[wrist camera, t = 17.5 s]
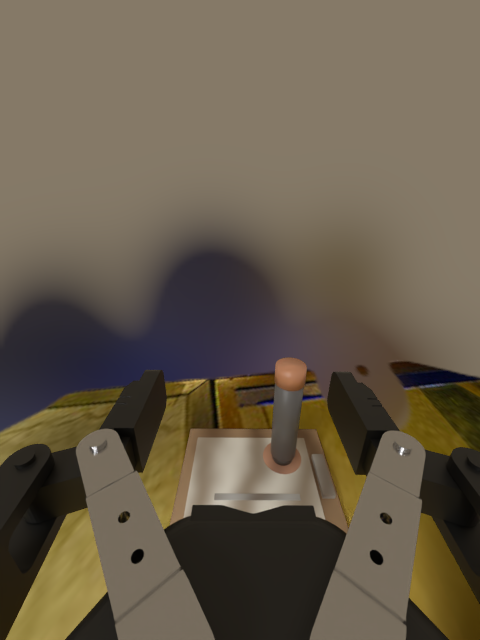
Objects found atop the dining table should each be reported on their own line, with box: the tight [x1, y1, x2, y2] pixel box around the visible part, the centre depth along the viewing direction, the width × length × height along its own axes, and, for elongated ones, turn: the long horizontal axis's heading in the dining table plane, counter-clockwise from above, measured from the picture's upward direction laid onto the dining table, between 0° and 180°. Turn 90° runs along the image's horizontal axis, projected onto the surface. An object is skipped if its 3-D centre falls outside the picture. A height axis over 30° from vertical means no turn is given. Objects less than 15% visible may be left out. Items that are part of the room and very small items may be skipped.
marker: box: [271, 358, 307, 466], centre depth 37 cm, size 4×4×16 cm
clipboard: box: [170, 429, 349, 534], centre depth 38 cm, size 21×17×2 cm
